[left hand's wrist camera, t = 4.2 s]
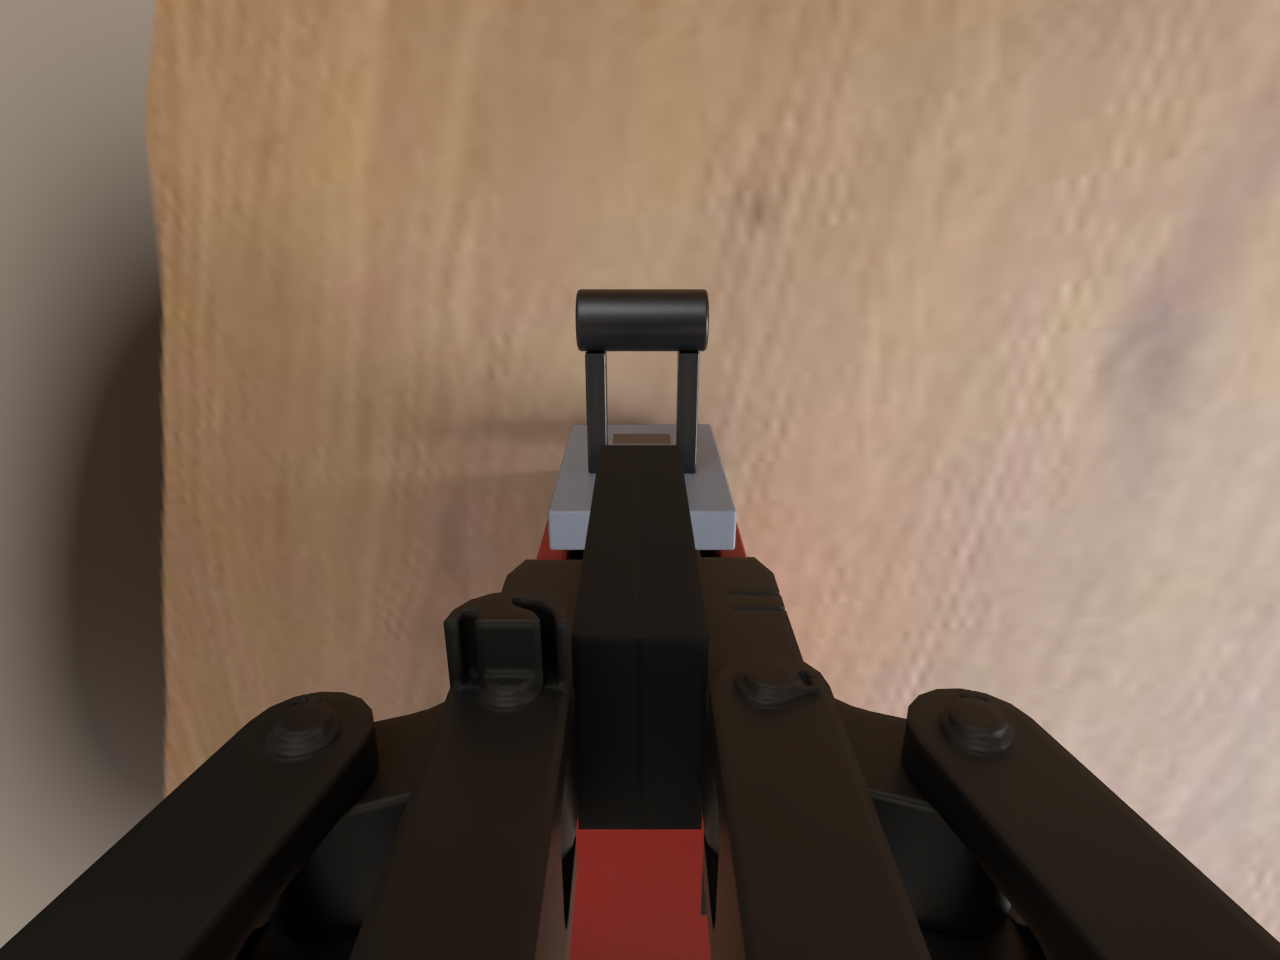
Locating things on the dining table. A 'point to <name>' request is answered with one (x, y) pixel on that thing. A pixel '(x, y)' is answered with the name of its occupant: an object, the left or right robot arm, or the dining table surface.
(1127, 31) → the dining table surface
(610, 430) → the drawer
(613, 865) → the red box housing
